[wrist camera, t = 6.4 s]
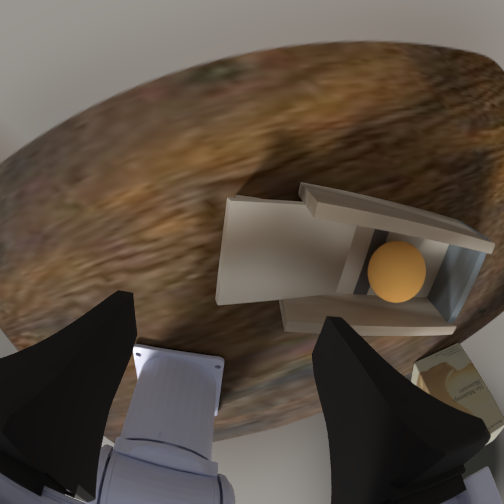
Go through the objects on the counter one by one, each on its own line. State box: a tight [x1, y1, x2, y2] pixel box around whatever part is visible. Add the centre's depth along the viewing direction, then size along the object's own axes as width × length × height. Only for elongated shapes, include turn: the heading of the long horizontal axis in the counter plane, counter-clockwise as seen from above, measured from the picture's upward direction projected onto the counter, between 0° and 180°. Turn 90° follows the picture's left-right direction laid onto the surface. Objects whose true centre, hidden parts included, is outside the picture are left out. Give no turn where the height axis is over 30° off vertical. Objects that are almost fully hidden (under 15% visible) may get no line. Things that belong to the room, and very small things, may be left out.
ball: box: [368, 241, 426, 303], centre depth 17 cm, size 4×4×4 cm
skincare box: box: [411, 343, 504, 445], centre depth 20 cm, size 6×4×12 cm
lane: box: [215, 182, 495, 336], centre depth 17 cm, size 8×18×4 cm, turn 82°
